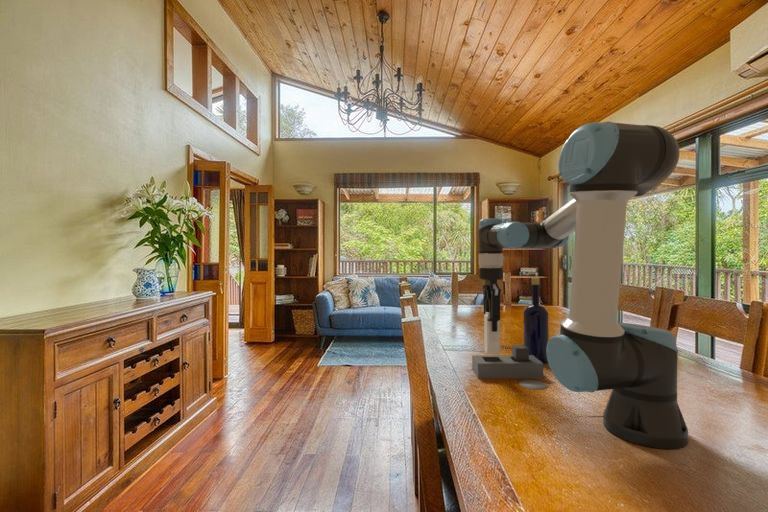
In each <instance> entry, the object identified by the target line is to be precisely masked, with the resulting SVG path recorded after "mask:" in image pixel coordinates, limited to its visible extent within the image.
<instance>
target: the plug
mask: <svg viewBox="0 0 768 512" xmlns="http://www.w3.org/2000/svg"><path fill="white" fill-rule="evenodd" d="M487 319H490V313H489V312H486V314H484V313H483V330H484V331H483V332H484V333H483V335H484V341H483V345H484V349H483V350H484V352H485V353H486V354H487V355H501V319H500V320H499V321H498V342H490V341H489V321H488V320H487Z"/></svg>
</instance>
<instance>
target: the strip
mask: <svg viewBox="0 0 768 512" xmlns="http://www.w3.org/2000/svg"><path fill="white" fill-rule="evenodd" d="M471 365H472V366H471V371H473V373H474V375H475V376H476V378H477V379H544V364H543V363H542V362H541V361H540V360H538V359H537V358H536V357H534V356H533V355H529V348H528V347H526V346H525V345H524V344H523V345H522V344H514V345H513V344H512V345H511V355H510V354H507V355H505V354H503V355H502V354H487V355H486V354H485V355H484V354H483V355H477V354H476V355H475V354H474V355H471Z"/></svg>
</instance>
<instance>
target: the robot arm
mask: <svg viewBox="0 0 768 512" xmlns="http://www.w3.org/2000/svg"><path fill="white" fill-rule="evenodd" d="M680 155H681V153H680V147H679V143H678V141H677V139H676V137H675V136H674V135H673V134H672V133H671V132H670V131H669V130H667V129H665V128H663V127H660V126H658V125H650V124H645V125H644V124H635V123H620V122H613V121H602V122H599V121H598V122H588V123H586V124H583V125H581V126H579V127H577V128H576V129H575V130H574V131H572V133H571V134H570V136H569V137H568V139H566V141H565V142H564V144H563V146H562V148H561V151H560V153H559V157H558V162H557V163H558V173H559V175H560V176H561V179H562V181H564V182H565V183H567V184H569V196H571V197H572V198H571V199H570V200H569V201H568V202H567V203H566V204H564V205H563V206H562V207H560V208H559V209H557V210H556V211H555V212H554V213H552V214H551V215H550V216H548V217H547V218H546V219H544V220H543V221H541V222H521V221H508V222H503V219H501V218H493V217H492V218H483V219H480V220H479V221H478V228H477V229H478V230H477V233H478V266H479V268H478V278H479V280H484V284H483V285H482V291H483V292H482V294H483V295H482V297H483V304H482V305H483V315H484V314H486V312H489V313H490V319H487V320H488V321H489V341H490V342H498V321H499V320H500V321H501V291H502V289H501V288H500V286H499V285H498V281H499V280H500V281H501V280H503V279H504V268H503V266H504V260H505V258H506V257H505V256H504V249H510V250H511V249H532V248H533V249H534V248H536V249H544V248H545V249H547V248H548V249H555V248H562V247H563V246H565V245H566V244H567V241H569V239H570V238H569V237H570V235H572V234H574V240H573V241H574V244H573V257H572V269H571V270H572V273H571V275H572V276H571V285H570V286H571V287H570V289H571V290H570V298H569V314H568V316H566V317H564V318H563V319H562V320H561V322H560V327H559V329H560V330H559V333H557V334H555V335H553V336H551V337H550V339H549V341H548V343H547V349H546V353H547V359H548V363H549V364H548V366H549V368H550V371H551V372H552V374H553V376H554V378H555V379H556V380H557V381H558V382H559V384H561V386H562V387H564V388H566V389H567V390H569V391H571V392H574V393H586V392H587V393H595V392H597V391H606V390H611V393H610V395H609V397H608V400H607V403H606V406H605V408H604V410H603V413H602V414H603V419H602V420H603V422H602V423H603V426H604V428H605V429H606V430H607V431H609V432H610V433H612V434H613V435H615V436H616V437H618V438H621V439H623V440H626V441H628V442H631V443H633V444H637V445H640V446H645V447H648V448H655V449H663V450H664V449H667V450H675V449H680V448H684V447H686V446H687V445H688V444H689V430H688V426H687V424H686V422H685V418H684V416H683V413H682V411H681V408H680V406H679V402H678V353H679V351H678V347H677V338H676V335H675V334H674V333H673V332H672V331H669V330H667V329H664V328H659V327H654V326H647V325H641V324H636V323H628V322H620V321H619V322H618V310H619V298H620V287H621V276H622V275H621V274H622V264H623V252H624V242H625V241H624V240H625V231H626V229H625V228H626V218H627V206H628V202H629V201H630V200H631V199H633V198H639V197H642V196H643V195H646V194H647V193H649V192H651V191H652V190H654V189H655V188H657V187H658V186H660V185H662V183H664V182H665V181H666V180H667V179H668V178H669V177H670V176H671V175H672V173H674V171H675V170H676V167H677V166H678V163H679V161H680Z"/></svg>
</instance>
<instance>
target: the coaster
mask: <svg viewBox="0 0 768 512" xmlns="http://www.w3.org/2000/svg"><path fill="white" fill-rule="evenodd" d="M518 385H519V386H521V387H523V388H524V389H528V390H533V391H544V390H547V389H549V384H547V383H545V382H543V381H539V380H535V379H524V380H523V379H522V380H521V381H519V382H518Z"/></svg>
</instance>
